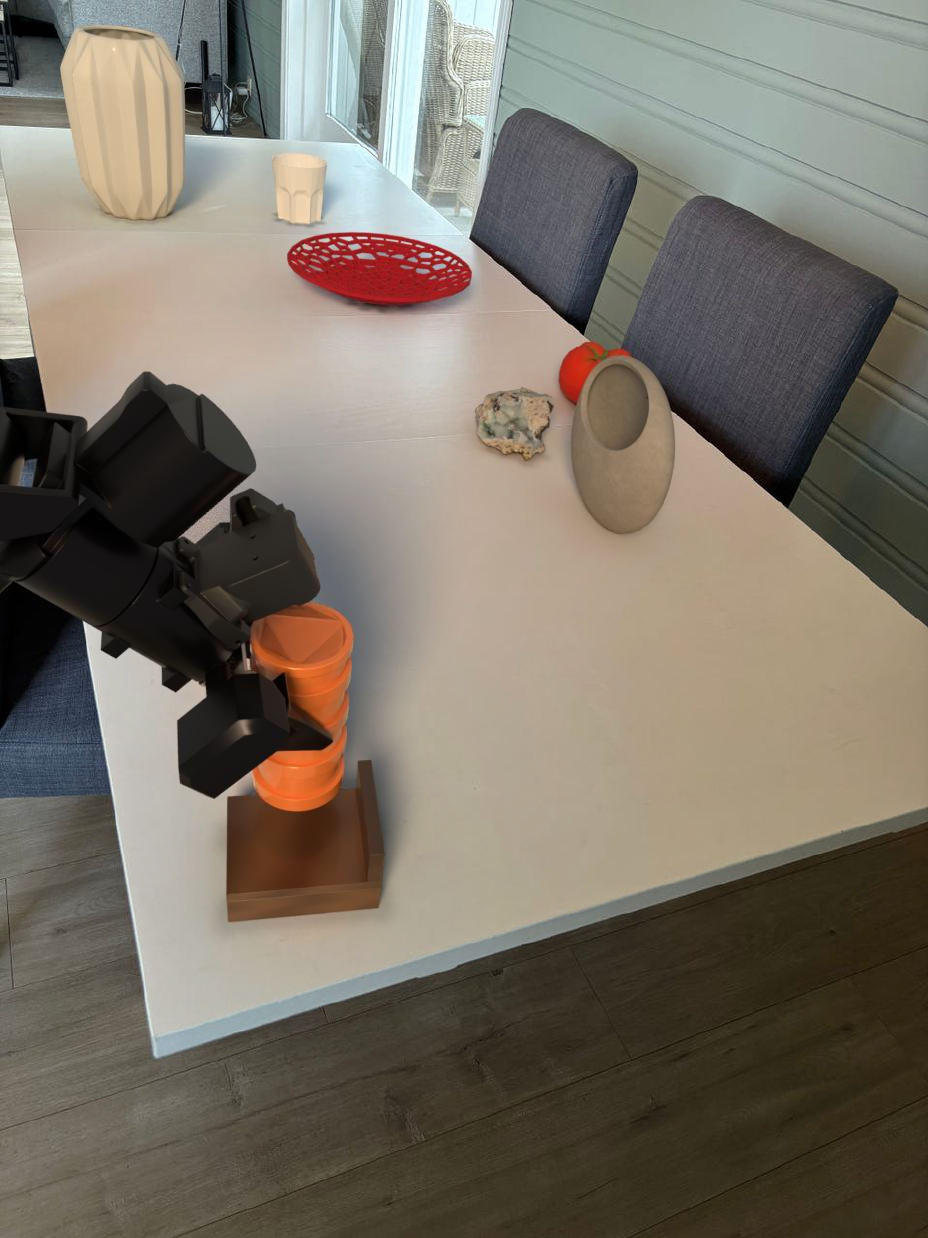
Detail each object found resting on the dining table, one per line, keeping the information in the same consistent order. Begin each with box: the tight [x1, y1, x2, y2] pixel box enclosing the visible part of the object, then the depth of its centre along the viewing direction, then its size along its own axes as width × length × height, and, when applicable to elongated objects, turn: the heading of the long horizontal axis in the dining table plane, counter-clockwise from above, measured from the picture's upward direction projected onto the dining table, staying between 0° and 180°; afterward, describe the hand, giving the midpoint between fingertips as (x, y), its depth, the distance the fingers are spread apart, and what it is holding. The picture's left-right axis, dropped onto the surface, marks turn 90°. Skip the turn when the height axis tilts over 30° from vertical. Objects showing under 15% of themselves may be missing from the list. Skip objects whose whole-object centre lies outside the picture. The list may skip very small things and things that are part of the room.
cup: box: [271, 152, 328, 225], centre depth 170 cm, size 10×10×10 cm
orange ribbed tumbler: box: [249, 601, 355, 811], centre depth 59 cm, size 6×6×13 cm
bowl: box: [286, 231, 473, 306], centre depth 147 cm, size 29×29×5 cm
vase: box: [59, 24, 186, 221], centre depth 156 cm, size 20×20×28 cm
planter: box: [570, 355, 676, 535], centre depth 98 cm, size 18×7×19 cm, turn 20°
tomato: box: [558, 341, 632, 405], centre depth 125 cm, size 11×11×8 cm
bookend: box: [225, 759, 386, 923], centre depth 62 cm, size 10×8×6 cm
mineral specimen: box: [474, 386, 556, 461], centre depth 114 cm, size 10×8×10 cm
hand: (321, 707), depth 59 cm, fingers closed on orange ribbed tumbler, 6 cm apart
